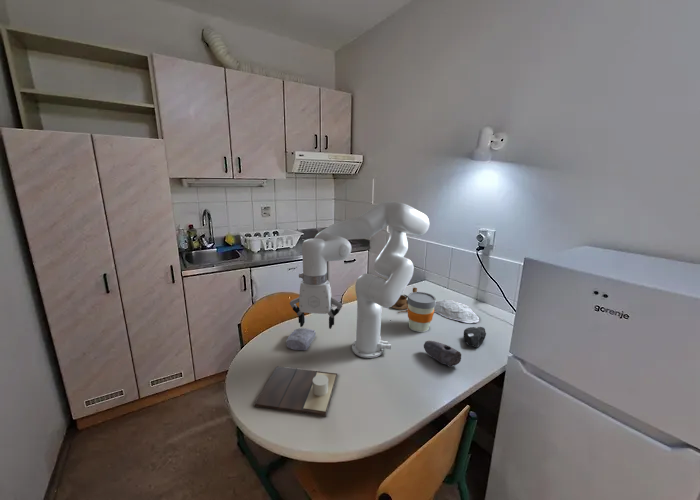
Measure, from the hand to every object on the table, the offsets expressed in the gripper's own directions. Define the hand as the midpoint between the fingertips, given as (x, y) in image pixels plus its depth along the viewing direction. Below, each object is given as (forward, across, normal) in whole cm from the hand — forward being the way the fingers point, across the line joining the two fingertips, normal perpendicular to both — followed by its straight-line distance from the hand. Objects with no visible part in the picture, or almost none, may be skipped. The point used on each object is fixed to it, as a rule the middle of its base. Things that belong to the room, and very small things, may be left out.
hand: (316, 325), depth 99 cm
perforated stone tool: (+20, +44, +15) cm, 51 cm away
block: (+20, -12, +19) cm, 30 cm away
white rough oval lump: (+22, +59, +56) cm, 84 cm away
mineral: (+21, +61, +30) cm, 71 cm away
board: (+19, -4, -8) cm, 21 cm away
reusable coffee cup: (+21, +39, +39) cm, 59 cm away
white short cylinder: (+18, +3, -9) cm, 20 cm away
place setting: (+21, +35, +62) cm, 75 cm away
